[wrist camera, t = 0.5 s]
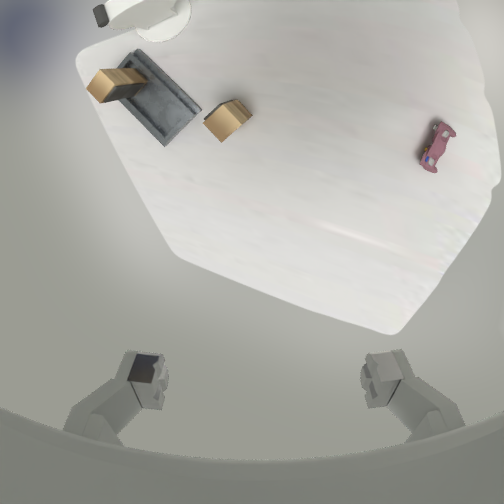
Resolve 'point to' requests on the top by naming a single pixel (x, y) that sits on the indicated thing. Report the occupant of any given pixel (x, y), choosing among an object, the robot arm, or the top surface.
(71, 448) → the robot arm
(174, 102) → the dark grey tray
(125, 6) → the panda figurine
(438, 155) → the video game controller
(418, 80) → the top surface
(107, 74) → the block
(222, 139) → the oak finger
